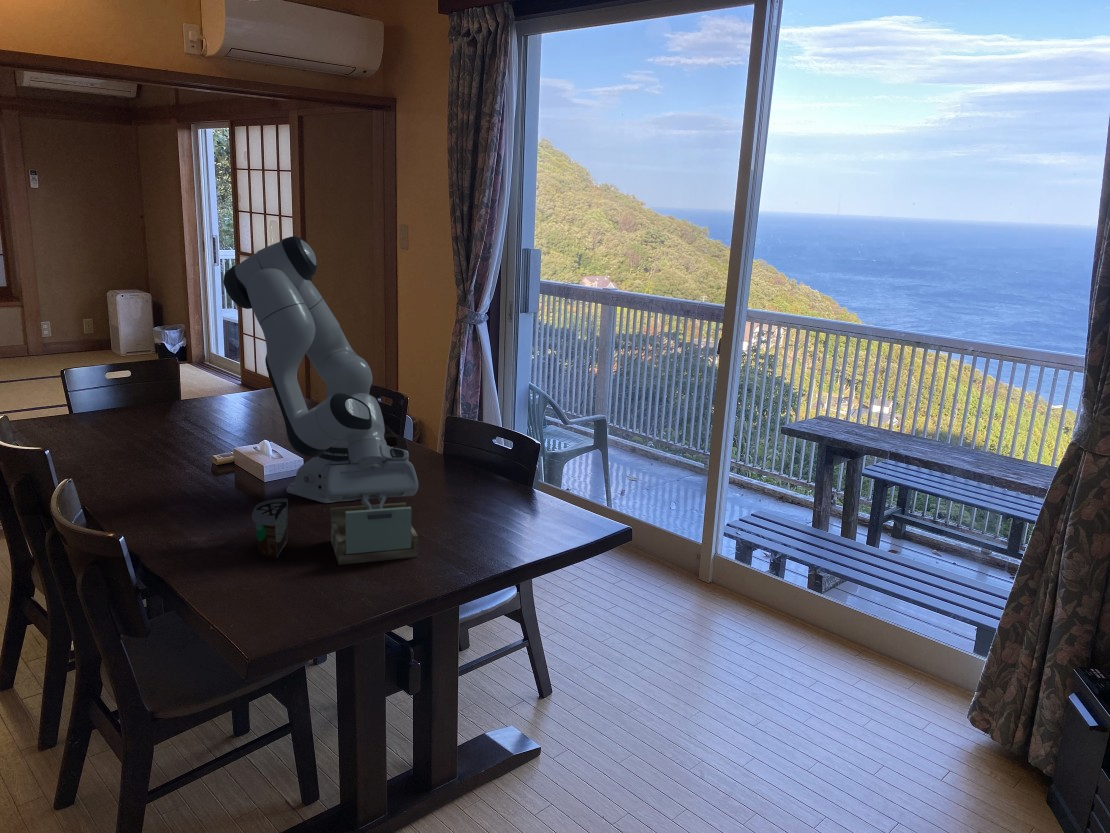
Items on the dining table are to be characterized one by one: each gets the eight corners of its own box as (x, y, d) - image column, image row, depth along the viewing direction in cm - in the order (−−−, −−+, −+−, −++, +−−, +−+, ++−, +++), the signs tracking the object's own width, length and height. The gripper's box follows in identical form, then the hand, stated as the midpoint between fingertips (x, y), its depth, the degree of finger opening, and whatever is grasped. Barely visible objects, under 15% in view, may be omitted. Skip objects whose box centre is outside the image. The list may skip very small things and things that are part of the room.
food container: (261, 538, 183) (260, 497, 181) (288, 538, 183) (288, 497, 181) (245, 560, 171) (244, 516, 169) (275, 560, 171) (274, 516, 169)
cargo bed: (330, 540, 184) (330, 507, 182) (404, 534, 190) (405, 502, 189) (338, 564, 171) (338, 529, 170) (417, 556, 178) (418, 523, 176)
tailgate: (345, 551, 172) (345, 511, 170) (409, 546, 178) (410, 506, 176) (346, 555, 171) (346, 514, 169) (411, 549, 176) (412, 509, 174)
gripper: (323, 455, 176) (328, 512, 169) (415, 450, 183) (423, 505, 177) (321, 468, 181) (326, 524, 174) (410, 463, 188) (418, 517, 182)
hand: (375, 514), depth 176 cm, fingers closed
